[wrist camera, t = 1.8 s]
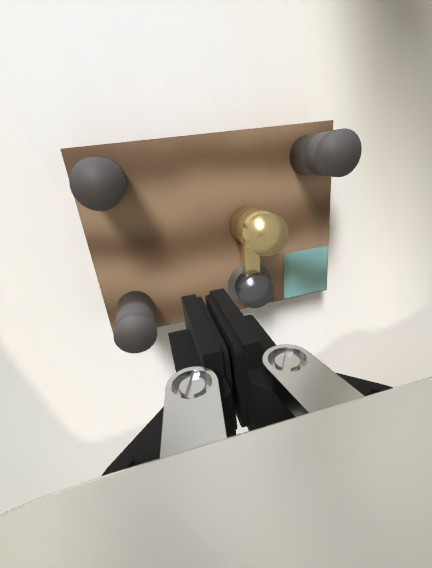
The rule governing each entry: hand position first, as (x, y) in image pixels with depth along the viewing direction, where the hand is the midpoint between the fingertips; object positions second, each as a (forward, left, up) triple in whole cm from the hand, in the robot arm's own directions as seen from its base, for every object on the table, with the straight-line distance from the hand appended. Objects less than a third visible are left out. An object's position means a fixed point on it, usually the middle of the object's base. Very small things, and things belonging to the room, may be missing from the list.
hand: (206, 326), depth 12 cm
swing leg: (+3, +7, -15) cm, 17 cm away
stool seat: (0, +5, -19) cm, 19 cm away
